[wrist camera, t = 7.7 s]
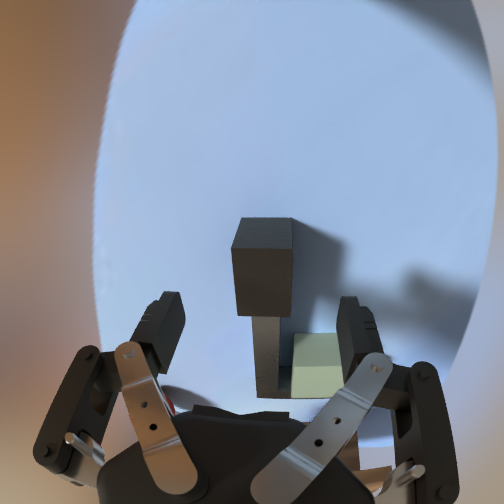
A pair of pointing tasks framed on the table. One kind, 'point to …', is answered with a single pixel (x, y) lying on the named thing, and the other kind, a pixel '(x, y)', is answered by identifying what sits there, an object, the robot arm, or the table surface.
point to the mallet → (265, 295)
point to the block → (316, 365)
